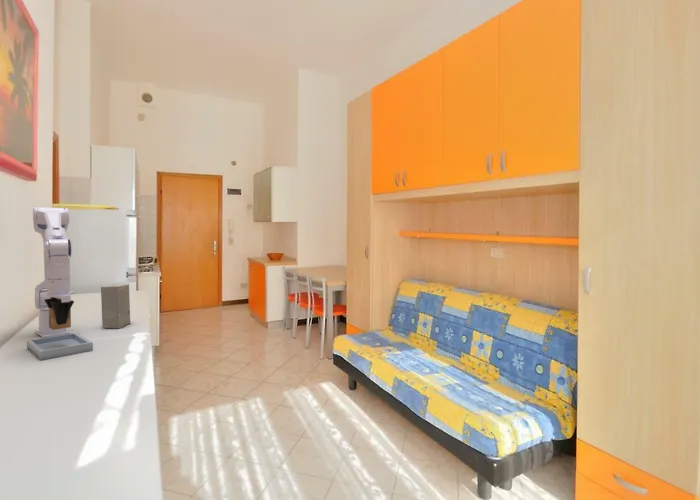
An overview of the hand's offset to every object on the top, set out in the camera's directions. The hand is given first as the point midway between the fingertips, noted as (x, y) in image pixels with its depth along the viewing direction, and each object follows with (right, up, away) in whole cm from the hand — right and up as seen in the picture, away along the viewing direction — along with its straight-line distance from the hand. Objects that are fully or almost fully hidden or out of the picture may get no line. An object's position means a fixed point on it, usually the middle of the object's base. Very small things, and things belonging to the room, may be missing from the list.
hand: (59, 322), depth 123 cm
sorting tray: (0, -8, +1) cm, 8 cm away
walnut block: (0, -2, 0) cm, 2 cm away
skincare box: (0, -7, +30) cm, 31 cm away
